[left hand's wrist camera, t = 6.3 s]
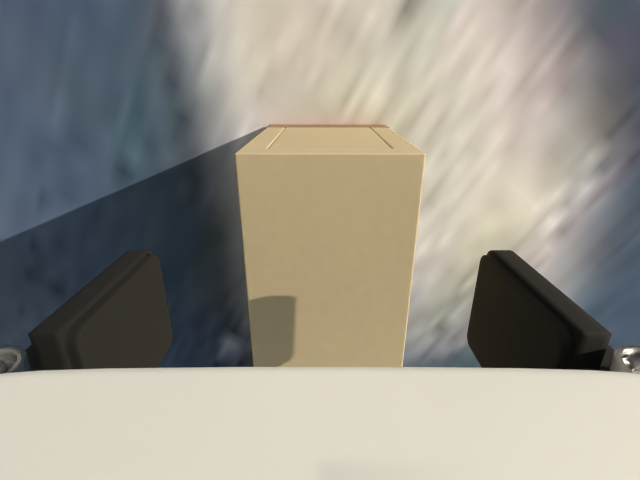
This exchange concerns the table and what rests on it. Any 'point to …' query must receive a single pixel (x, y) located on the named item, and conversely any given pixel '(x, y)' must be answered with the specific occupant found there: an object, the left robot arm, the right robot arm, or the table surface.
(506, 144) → the table surface
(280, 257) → the tan long block
